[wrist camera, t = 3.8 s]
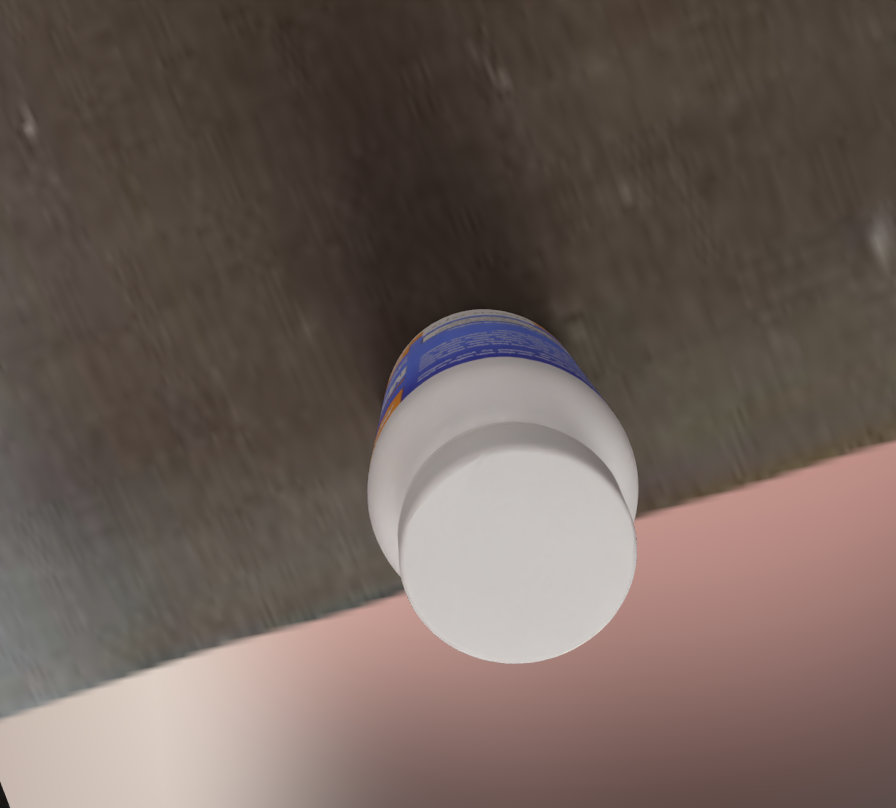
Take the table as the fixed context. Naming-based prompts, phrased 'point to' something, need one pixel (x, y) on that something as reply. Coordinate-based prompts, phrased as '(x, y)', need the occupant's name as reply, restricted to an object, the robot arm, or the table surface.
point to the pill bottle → (503, 489)
